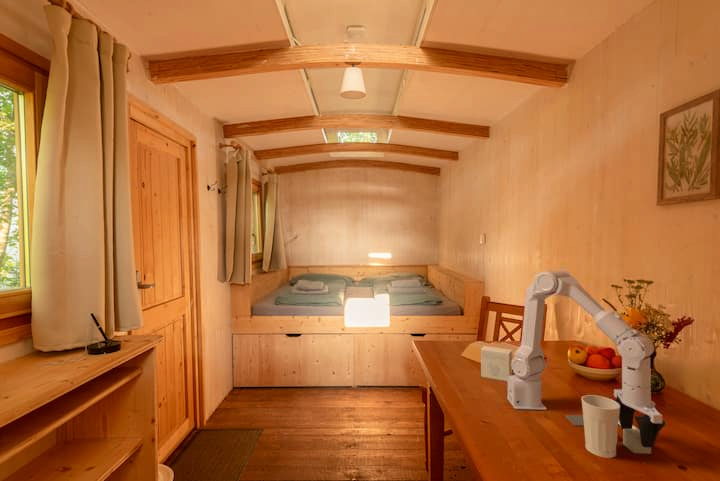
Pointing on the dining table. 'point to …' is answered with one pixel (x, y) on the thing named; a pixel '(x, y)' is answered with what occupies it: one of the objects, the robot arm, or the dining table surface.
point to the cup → (600, 425)
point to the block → (634, 441)
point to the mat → (576, 419)
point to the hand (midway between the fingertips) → (636, 437)
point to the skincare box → (496, 363)
